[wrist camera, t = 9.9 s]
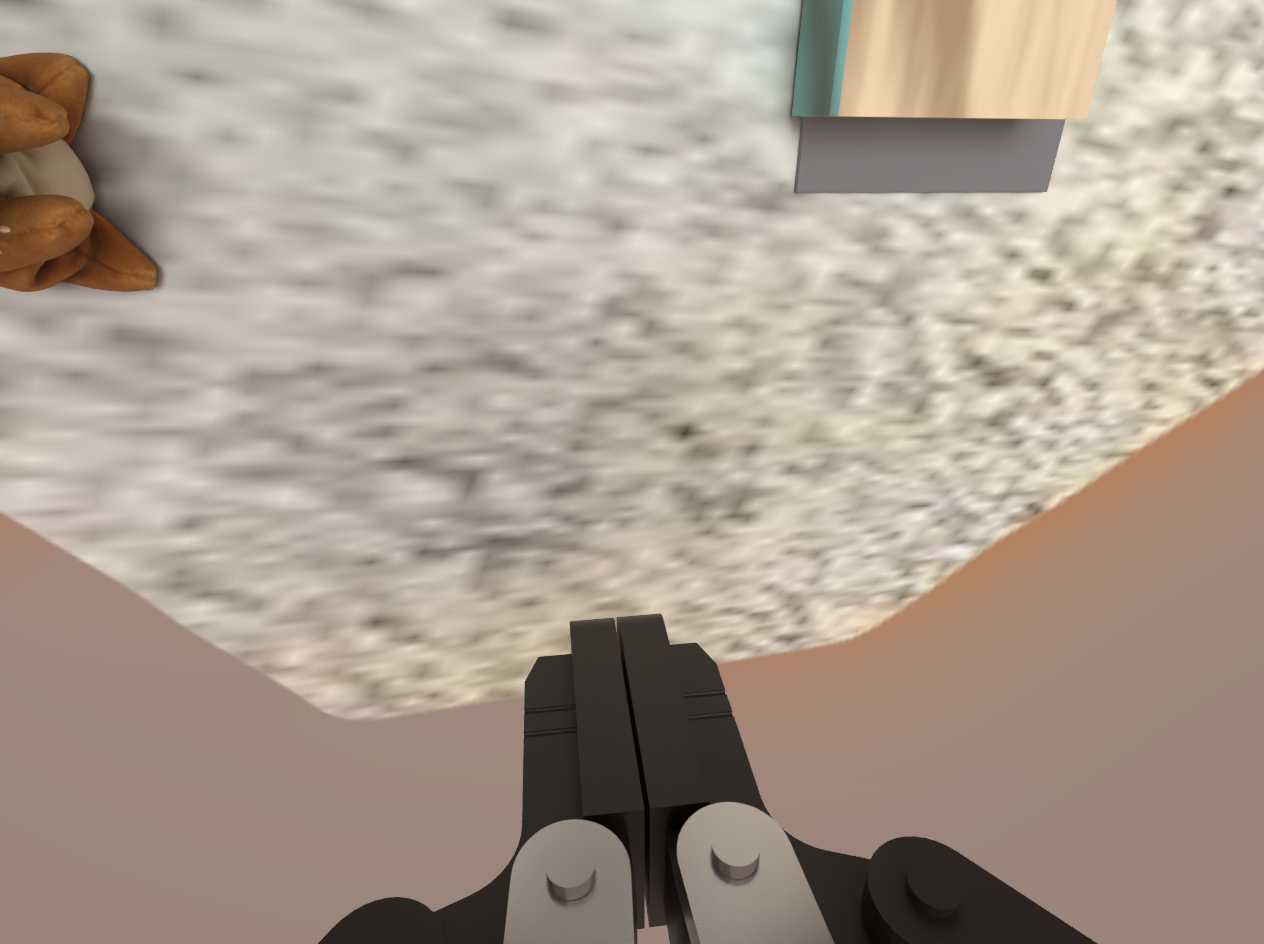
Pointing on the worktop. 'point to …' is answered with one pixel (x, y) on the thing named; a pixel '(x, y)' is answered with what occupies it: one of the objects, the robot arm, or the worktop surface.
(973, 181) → the slate mat
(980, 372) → the worktop surface
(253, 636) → the worktop surface
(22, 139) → the stuffed squirrel
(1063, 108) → the maple block
